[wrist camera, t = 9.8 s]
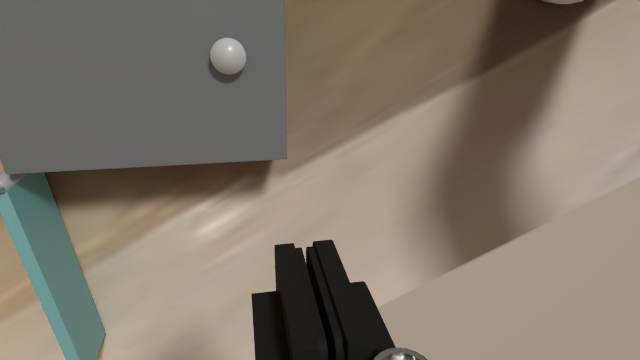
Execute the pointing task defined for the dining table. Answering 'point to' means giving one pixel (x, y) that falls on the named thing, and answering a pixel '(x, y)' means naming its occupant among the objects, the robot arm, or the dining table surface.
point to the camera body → (140, 83)
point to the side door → (51, 263)
